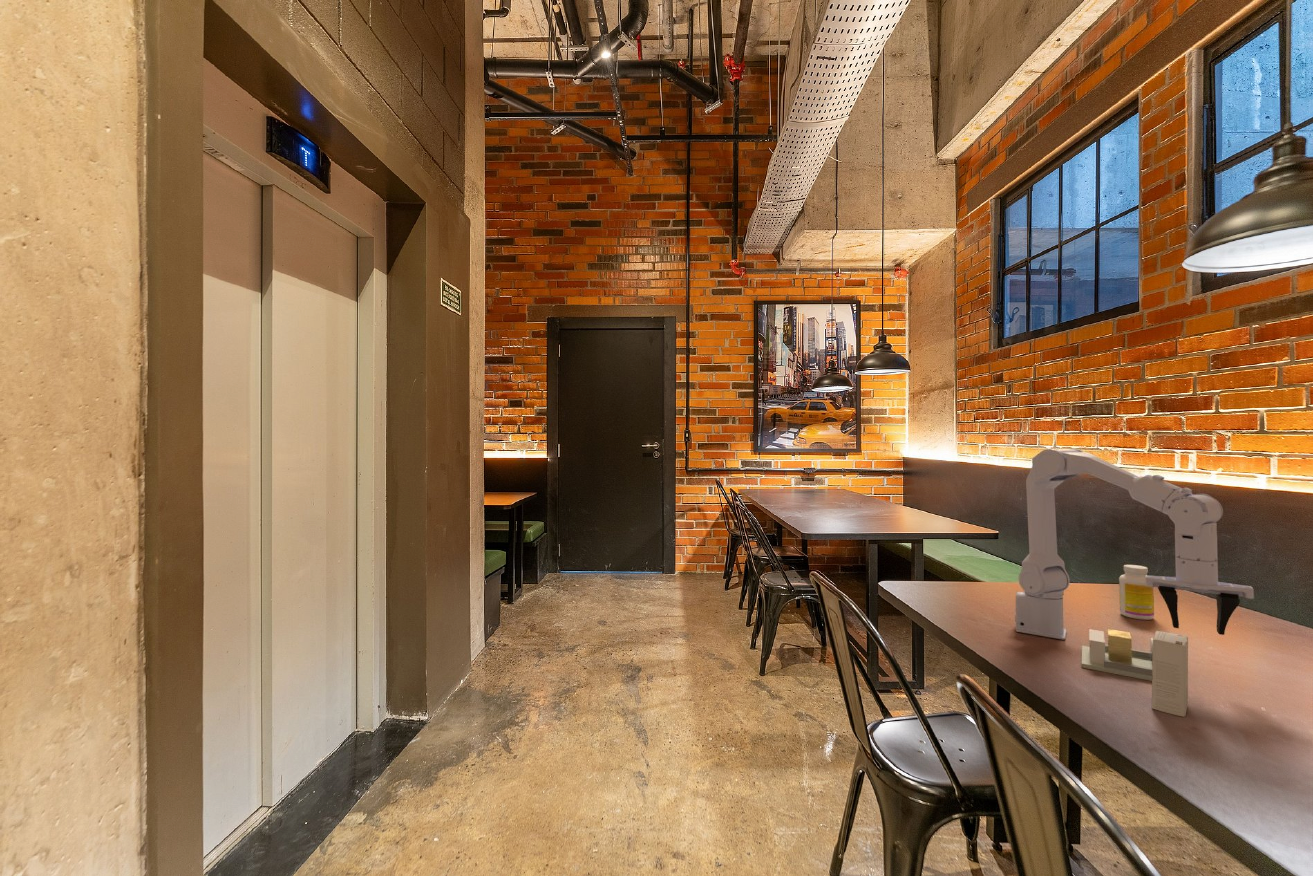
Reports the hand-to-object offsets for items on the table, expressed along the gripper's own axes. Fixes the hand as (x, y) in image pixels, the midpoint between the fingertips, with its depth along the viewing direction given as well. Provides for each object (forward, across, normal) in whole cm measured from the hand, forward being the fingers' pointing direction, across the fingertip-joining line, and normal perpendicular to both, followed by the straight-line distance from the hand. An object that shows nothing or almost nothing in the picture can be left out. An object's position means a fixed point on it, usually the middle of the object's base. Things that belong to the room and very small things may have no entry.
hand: (1197, 630), depth 103 cm
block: (+9, -11, 0) cm, 14 cm away
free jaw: (+8, -5, 0) cm, 10 cm away
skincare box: (+10, -6, -18) cm, 21 cm away
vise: (+9, -10, 0) cm, 14 cm away
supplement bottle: (+10, -6, +42) cm, 44 cm away
